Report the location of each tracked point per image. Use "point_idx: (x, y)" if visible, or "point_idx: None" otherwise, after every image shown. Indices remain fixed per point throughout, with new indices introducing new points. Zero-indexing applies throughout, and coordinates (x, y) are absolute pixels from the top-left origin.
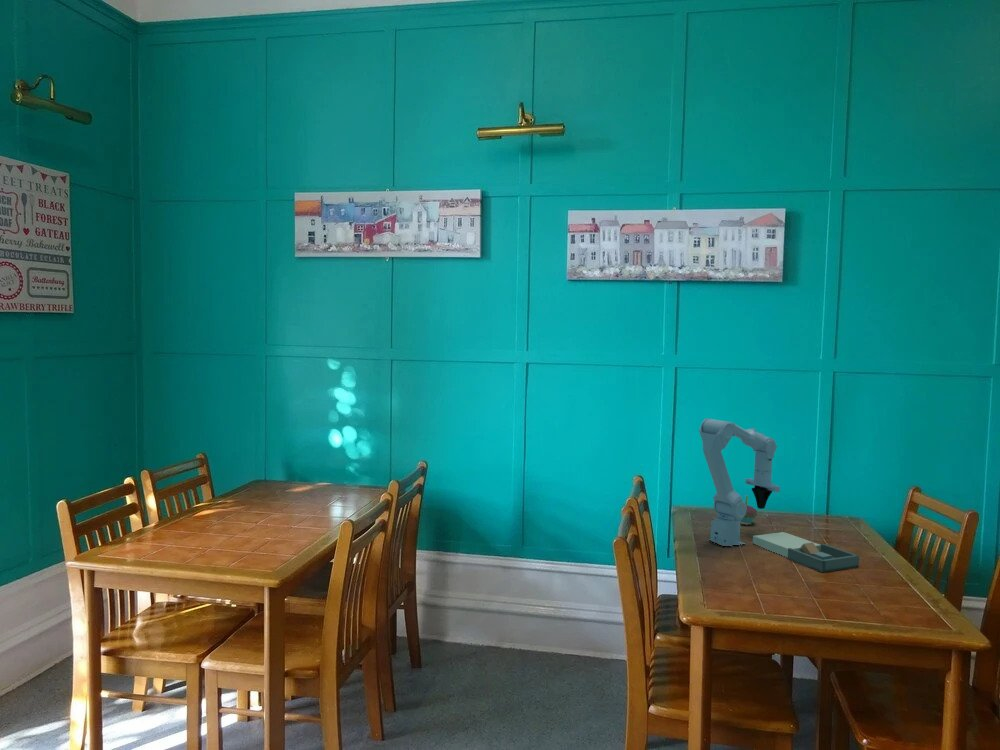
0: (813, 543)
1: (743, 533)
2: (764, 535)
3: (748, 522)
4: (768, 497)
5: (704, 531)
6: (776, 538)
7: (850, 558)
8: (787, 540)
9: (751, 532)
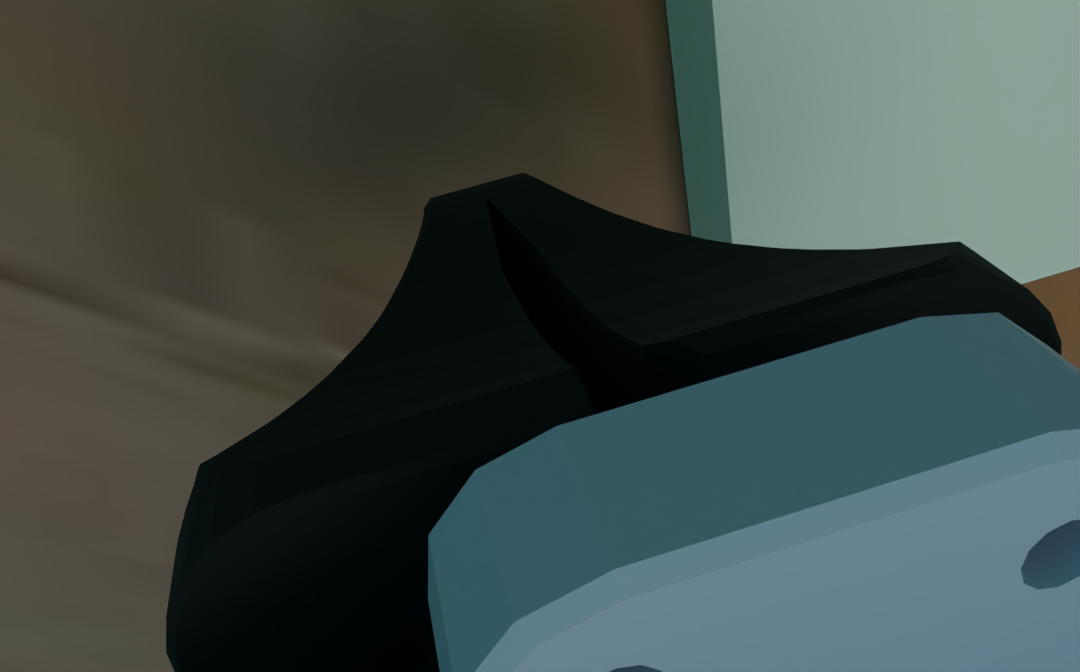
0: None
1: (198, 203)
2: (775, 214)
3: None
4: (718, 250)
5: (131, 624)
6: (940, 115)
7: None
8: (1074, 3)
9: (125, 41)
